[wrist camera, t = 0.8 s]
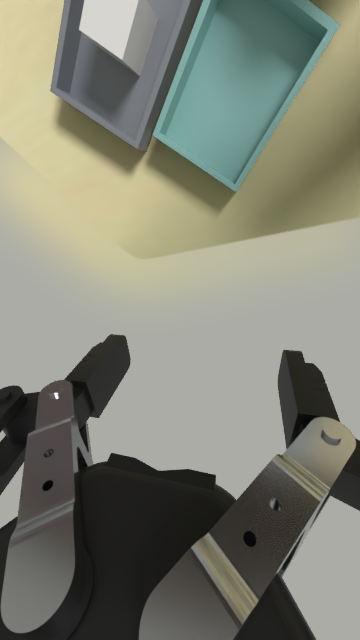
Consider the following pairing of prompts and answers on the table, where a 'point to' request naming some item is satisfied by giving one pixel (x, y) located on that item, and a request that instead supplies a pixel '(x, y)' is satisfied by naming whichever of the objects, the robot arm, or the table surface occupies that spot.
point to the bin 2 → (240, 80)
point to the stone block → (120, 29)
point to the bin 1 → (122, 71)
